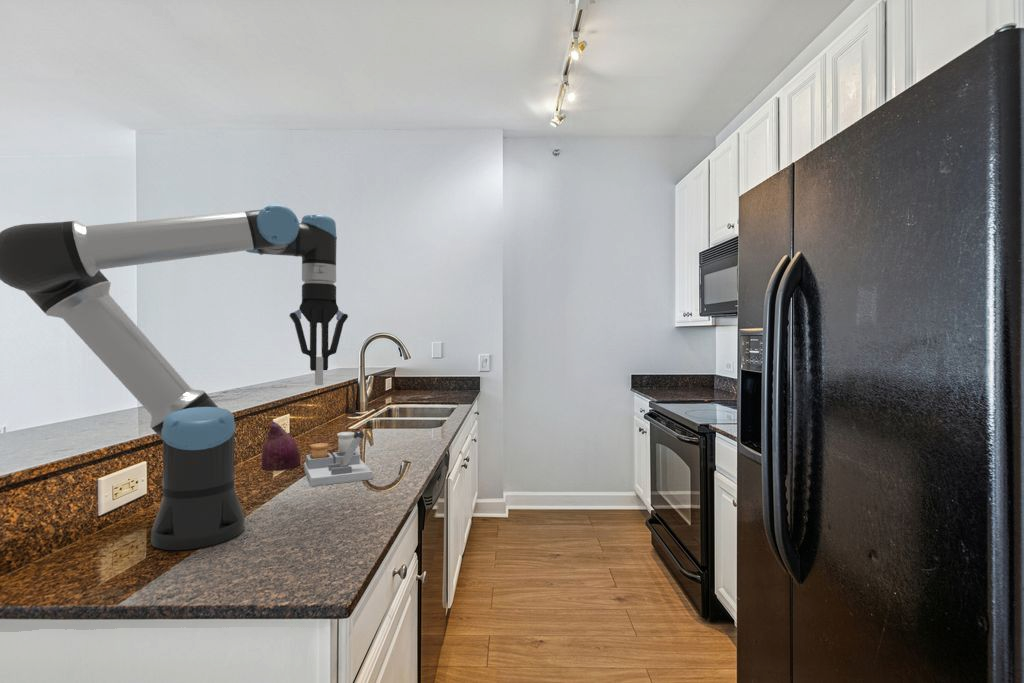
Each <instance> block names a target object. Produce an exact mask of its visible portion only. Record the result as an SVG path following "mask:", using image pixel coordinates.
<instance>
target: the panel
mask: <svg viewBox="0 0 1024 683" xmlns="http://www.w3.org/2000/svg"><path fill="white" fill-rule="evenodd" d="M345 453H346V452H345ZM345 453H342V452H338V451H334V452H332V454H331V453H330V452H327V458H317V459H312V454H306V455H305V462H304V463H303V471H304V473H305V475H306V478H307V479H308V482H309V484H310V486H311V487H317V486H326V485H336V484H342V483H351V482H353V483H354V482H360V481H369V480H373V471H372V469H370V468H369V466H367V464H366V463H365V462H364V461H363V460H362V459H361V456H360V455H361V454H359V453H358V451H357V450H355V452H354V454H353V456H352V458H351V459H350V461H349V463H348V465H347V467H339V465H340V463H341V461H342V459H343V457H344V455H345Z"/></svg>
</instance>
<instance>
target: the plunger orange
mask: <svg viewBox="0 0 1024 683" xmlns="http://www.w3.org/2000/svg"><path fill="white" fill-rule="evenodd" d="M328 447H329V443H326V442H318V443H313V444H310V449H311V455H312V459H317V458H327V453H328Z"/></svg>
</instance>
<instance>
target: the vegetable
mask: <svg viewBox="0 0 1024 683" xmlns="http://www.w3.org/2000/svg"><path fill="white" fill-rule="evenodd" d="M300 466H301V455H300V451H299V448H298V445H297V443H296V441H295V440H294V438H293V436H292V435H290V434H289V433H288V432H287V431H286V430H284V428H283V427H282V426H281V425H280V424H279V423H278V422H276V421H274V420H272V423H271V424H270V427H269V432H268V435H267V438H266V440H265V442H264V445H263V449H262V452H261V468H262V470H264V471H272V472H273V471H275V472H276V471H277V472H278V471H285V470H291V469H296V468H298V467H300Z"/></svg>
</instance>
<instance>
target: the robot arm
mask: <svg viewBox="0 0 1024 683" xmlns="http://www.w3.org/2000/svg"><path fill="white" fill-rule="evenodd" d="M337 240H338V238H337V225H336V220H334V219H333V217H330V216H327V215H321V214H306V215H303V216H302V218H301V221H300V222H299V219H298V216H297V215H296V213H295V212H294V211H293V210H292V209H291V208H289V207H287V206H286V205H282V204H277V203H276V204H270V205H267V206H265V207H263V208H261V209H256V210H255V209H254V210H247V211H235V212H234V211H233V212H224V213H222V212H221V213H212V214H204V215H203V214H202V215H200V214H199V215H191V216H179V217H169V218H168V217H167V218H159V219H146V220H138V221H137V220H135V221H126V222H116V223H103V224H95V225H93V224H92V225H85V224H82V223H81V222H79V221H77V220H69V221H60V222H59V221H55V222H40V223H39V222H38V223H22V224H17V225H13V226H11V227H7V228H5V229H3V230H1V231H0V281H1V282H3V283H4V284H6V285H7V286H9V287H10V288H14V289H15V290H16V289H17V290H19V291H23V292H24V293H25V294H26V295H27V296H28V297H29V298H30V299H31V300H32V301H33V302H34V303H35V304H36V306H38V307H39V309H40V310H41V311H42V312H43V313H44V314H45V315H46V316H48V317H53V318H54V317H55V318H60V319H62V320H64V322H65V323H66V324H67V325H68V326H69V327H70V328H71V330H73V331H74V333H75V334H76V335H77V336H78V337H79V338H80V339H81V340H82V342H84V344H85V345H86V346H87V347H88V348H89V350H91V352H93V354H95V355H96V356H97V357H98V358H99V360H100V361H101V362H102V363H103V364H104V366H106V368H108V370H110V372H111V373H112V374H113V375H114V376H115V377H116V378H117V379H118V380H119V382H121V384H122V385H123V386H124V387H125V388H126V389H127V391H129V392H130V393H131V395H132V396H133V397H134V398H135V399H136V400H137V402H139V404H141V406H142V407H143V408H145V410H146V411H147V412H148V413H149V414H150V416H151V417H150V425H149V427H150V428H151V429H152V430H153V432H155V433H156V434H157V436H158V437H159V438H160V439H161V440H162V500H161V503H160V506H159V508H158V512H157V514H156V517H155V519H154V521H153V525H152V528H151V532H150V533H151V534H150V536H151V537H150V544H151V546H152V547H153V548H156V549H159V550H165V551H186V550H194V549H200V548H206V547H211V546H213V545H219V544H221V543H225V542H227V541H229V540H231V539H234V538H236V537H238V536H239V535H241V533H243V531H244V530H245V515H244V511H243V509H242V506H241V503H240V501H239V499H238V495H237V493H236V490H235V489H236V488H235V432H236V428H237V427H236V426H237V425H236V421H235V416H234V414H233V412H231V410H229V409H226V408H221V407H219V406H218V405H217V404H216V403H215V401H214V400H212V398H211V397H210V396H209V395H208V394H207V393H206V391H204V390H202V389H201V390H200V389H194V388H192V387H191V386H190V385H189V384H188V383H187V381H185V379H184V378H183V377H182V376H181V375H180V374H179V373H178V372H177V370H176V369H175V368H174V367H173V366H172V365H171V363H170V362H169V361H168V360H167V359H166V358H165V357H164V355H163V354H162V353H161V352H160V351H159V350H158V349H157V348H156V346H155V345H154V344H153V343H152V341H150V339H149V338H148V337H147V336H146V334H144V332H142V330H141V329H140V328H139V327H138V325H136V323H135V322H134V321H133V320H132V319H131V318H130V317H129V315H128V314H127V313H126V312H125V311H124V310H123V308H122V307H121V306H120V305H119V304H118V303H117V302H116V301H115V299H114V298H113V297H112V295H110V288H111V282H110V280H108V279H107V277H106V276H105V275H104V273H102V272H101V270H106V269H107V270H108V269H115V268H122V267H123V268H124V267H131V266H136V265H137V266H138V265H144V264H145V265H146V264H152V263H154V264H155V263H160V262H161V263H162V262H167V261H176V260H183V259H190V258H191V259H193V258H198V257H200V258H201V257H205V256H206V257H207V256H212V255H214V256H215V255H221V254H227V253H228V254H229V253H236V252H244V251H245V252H247V253H250V254H259V255H262V256H263V255H270V256H273V255H275V256H288V257H289V256H291V257H301V281H302V282H304V283H302V285H301V303H300V305H299V307H298V308H299V309H297V310H295V311H294V312H291V313H289V315H288V317H289V318H290V319H291V320H292V322H293V323H294V328H295V332H296V334H297V339H298V343H299V346H300V351H301V353H302V354H303V355H306V356H308V357H309V369H310V371H311V372H314V385H315V386H324V371H328V369H329V357H330V356H331V355H335V354H337V350H338V347H339V343H340V338H341V335H342V331H343V327H344V323H345V322H346V321H347V319H348V318H349V314H347V313H344V312H343V311H341V310H340V308H339V306H338V305H337V286H336V285H335V284H336V282H337ZM302 316H304V317H305V319H306V320H307V322H308V323H309V348H308V345H307V342H306V337H305V334H304V330H303V326H302V322H301V320H302ZM335 316H336V319H335V320H337V322H336V323H335V328H334V332H333V336H332V340H331V344H330V347H329V323H330V322H331V321H332V320H333V319H334V317H335ZM318 324H320V327H321V356H317V353H318V352H317V351H318V350H317V342H318V341H317V339H318V338H317V334H318V332H317V328H318Z"/></svg>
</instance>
